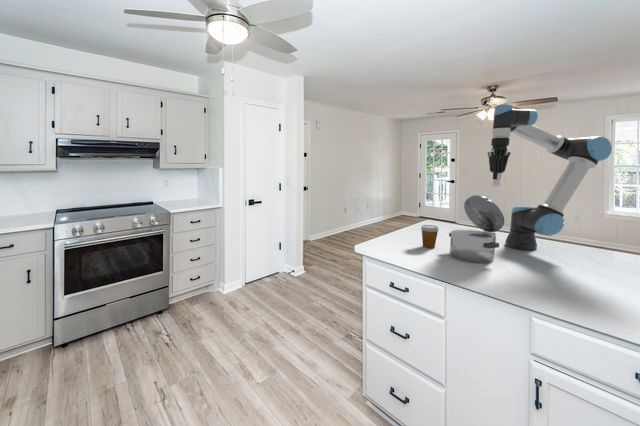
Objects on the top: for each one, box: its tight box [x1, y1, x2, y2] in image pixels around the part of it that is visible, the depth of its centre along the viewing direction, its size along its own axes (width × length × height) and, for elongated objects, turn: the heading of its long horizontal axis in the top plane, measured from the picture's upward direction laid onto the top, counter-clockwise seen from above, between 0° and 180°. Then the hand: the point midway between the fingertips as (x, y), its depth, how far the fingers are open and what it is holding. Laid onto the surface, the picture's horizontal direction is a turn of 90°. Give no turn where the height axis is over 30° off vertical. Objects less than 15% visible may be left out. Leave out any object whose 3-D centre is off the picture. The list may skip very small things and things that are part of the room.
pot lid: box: [463, 194, 505, 233], centre depth 151 cm, size 21×21×4 cm
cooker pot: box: [448, 228, 500, 264], centre depth 151 cm, size 22×25×12 cm
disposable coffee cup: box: [420, 224, 440, 250], centre depth 169 cm, size 10×10×12 cm
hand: (495, 185), depth 151 cm, fingers closed
